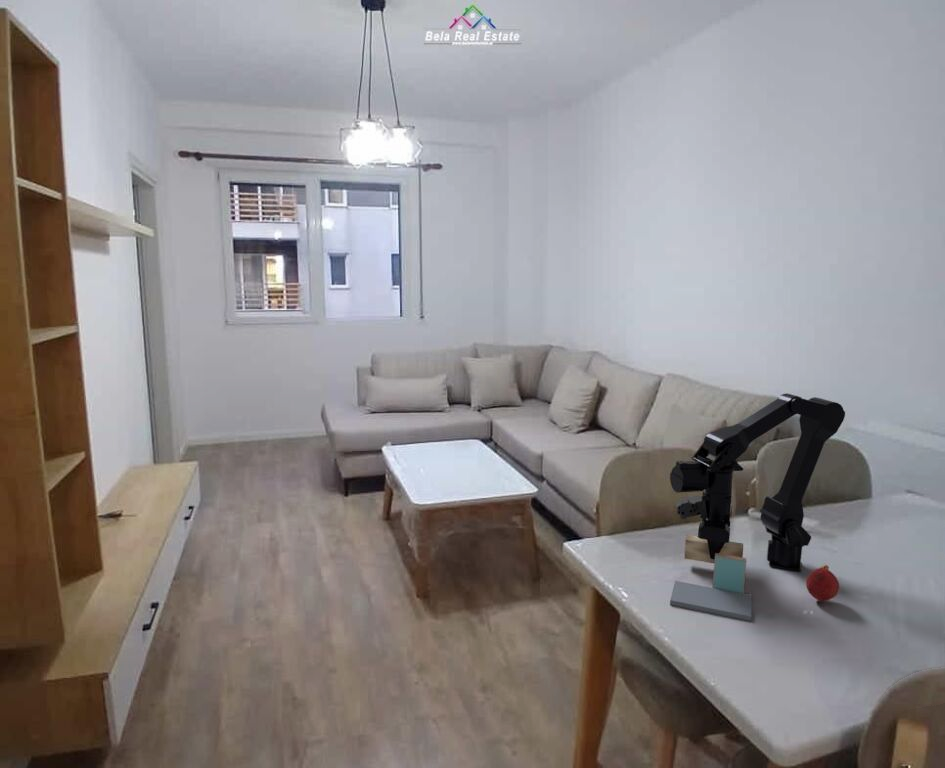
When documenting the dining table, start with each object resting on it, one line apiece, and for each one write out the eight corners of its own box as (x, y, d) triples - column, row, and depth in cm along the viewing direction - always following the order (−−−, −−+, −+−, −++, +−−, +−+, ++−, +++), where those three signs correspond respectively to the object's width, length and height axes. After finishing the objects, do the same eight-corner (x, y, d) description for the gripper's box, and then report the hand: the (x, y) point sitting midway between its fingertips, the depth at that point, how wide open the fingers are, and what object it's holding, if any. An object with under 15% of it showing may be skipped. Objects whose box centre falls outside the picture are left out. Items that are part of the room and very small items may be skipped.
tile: (743, 594, 131) (746, 558, 130) (743, 597, 130) (746, 561, 128) (712, 588, 134) (715, 553, 132) (712, 591, 132) (714, 556, 131)
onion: (825, 611, 124) (829, 574, 123) (798, 598, 129) (801, 562, 128) (843, 604, 127) (847, 567, 126) (816, 592, 132) (820, 556, 131)
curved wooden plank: (741, 562, 141) (743, 543, 140) (741, 568, 138) (743, 548, 137) (685, 553, 145) (686, 534, 144) (684, 558, 142) (685, 539, 142)
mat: (751, 599, 129) (751, 595, 129) (750, 621, 121) (751, 616, 121) (675, 585, 135) (675, 580, 135) (670, 604, 127) (670, 600, 127)
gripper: (684, 473, 150) (680, 534, 153) (675, 497, 134) (671, 566, 136) (734, 479, 146) (729, 542, 149) (731, 505, 129) (726, 576, 132)
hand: (713, 555), depth 141 cm, fingers closed on curved wooden plank, 3 cm apart
